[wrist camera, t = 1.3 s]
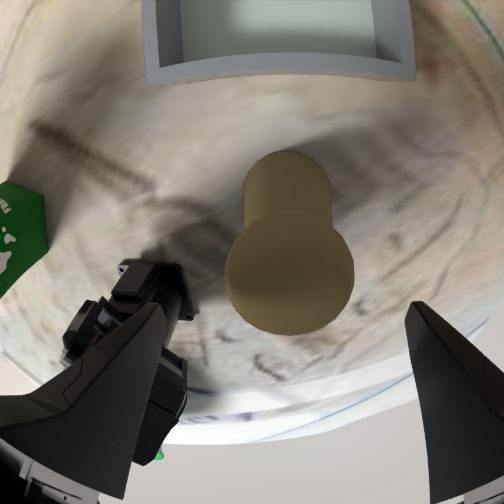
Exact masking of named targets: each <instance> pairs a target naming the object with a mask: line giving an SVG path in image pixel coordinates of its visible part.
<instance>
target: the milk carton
mask: <svg viewBox="0 0 504 504" xmlns="http://www.w3.org/2000/svg"><path fill="white" fill-rule="evenodd" d="M47 253H48V248H47V240H46V231H45V220H44V206H43V195H41V194H38V193H36V192H33V191H31V190H28V189H25V188H23V187H20V186H18V185H15V184H13V183H10V182H8V181H5V182H3V183H1V184H0V299H1V298H2V297H3V295H4V294H5V293H6V292H7V291H8V290H9V289H10V287H11V286H12V285H13V284H14V283H15V282H16V281H17V280H18V279H19V278H20V277H21V276H22V275H23V274H24V273H25V272H26V271H27V270H28V269H29V268H30V267H32V266H33V265H34V264H35V263H36V262H37V261H38V260H40V259H41V258H42V257H43V256H44V255H45V254H47Z"/></svg>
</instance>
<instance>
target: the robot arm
mask: <svg viewBox="0 0 504 504" xmlns="http://www.w3.org/2000/svg"><path fill="white" fill-rule="evenodd" d="M122 268H123V269H122ZM175 269H177V270H178V271H176V270H175ZM117 270H118V272H119V275H120V277H121V278H120V279H119V281H118V282H117V284H116V285H115V287H114V288H113V290H112V291H111V294H112V296H111V298H110V299H109V301H108V300H107V299H105V298H104V297H103V296H102V297H101V298H100V299H99V300H98V301H97V302H96V301H90V300H86V301H85V302H84V304H83V305H82V307H81V308H80V309H79V311H78V312H77V314H76V315H75V317H74V318H73V320H72V321H71V323H70V325H69V326H68V328H67V330H66V331H65V333H64V335H63V337H62V339H63V344H64V348H63V350H62V352H63V354H62V356H61V359H60V363H62V364H63V365H64V366H65V368H64V369H63V371H62V372H61V373H60V374H58V375H57V376H55V377H54V378H52V379H51V380H50V381H48V382H47V383H45V384H44V385H42V386H41V387H39V388H38V389H36V390H35V391H33V392H31V393H29V394H25V395H8V396H6V395H5V396H4V395H3V396H2V395H0V504H100V502H99V501H98V496H99V492H101V493H104V494H106V495H109V496H112V497H115V498H118V499H121V500H123V498H124V493H125V489H126V484H127V479H128V475H129V471H130V466H131V462H134V463H137V464H139V465H141V466H145V465H147V464H148V463H149V462H151V461H152V460H154V459H155V457H156V455H157V453H158V451H159V449H160V447H161V445H162V443H163V441H164V439H165V437H166V436H167V435H168V433H169V432H170V430H171V429H172V428H173V427H174V426H175V425H176V424H177V423H178V421H179V417H180V416H181V414H182V412H183V410H184V408H185V405H186V400H187V361H186V360H184V359H183V358H180V357H178V356H177V355H175V354H174V353H172V352H171V351H170V350H168V349H167V347H168V345H169V342H170V339H171V337H172V334H173V332H174V329H175V326H176V324H177V321H178V320H185V321H192V320H193V319H194V316H195V314H194V311H193V307H192V304H191V300H190V296H189V293H188V289H187V285H186V281H185V278H184V274H183V270H182V267H181V266H180V265H179V264H173V263H120V264H119V265H118V267H117ZM107 301H108V302H107ZM188 315H189V316H188ZM405 328H406V334H407V340H408V347H409V354H410V360H411V365H412V369H413V373H414V378H415V382H416V387H417V392H418V397H419V402H420V407H421V413H422V419H423V425H424V432H425V440H426V448H427V457H428V470H429V485H430V504H436V503H440V502H443V501H446V500H448V499H451V498H454V497H457V496H460V495H462V494H463V495H464V501H462V502H460V503H457V504H504V373H503V372H502V371H501V370H500V369H499V368H498V367H497V366H496V365H495V364H493V363H492V362H491V361H490V360H489V359H488V358H487V357H486V356H484V354H483V353H482V352H481V351H479V350H478V349H477V348H476V347H475V346H474V345H473V344H472V343H471V342H470V341H468V340H467V339H466V338H465V337H464V336H463V335H462V334H461V333H459V332H458V331H457V330H456V329H455V328H454V327H453V326H451V325H450V324H449V323H448V322H447V321H446V320H444V319H443V318H442V317H441V316H440V315H439V314H437V313H436V312H435V311H434V310H433V309H431V308H430V307H429V306H428V305H426V304H425V303H424V302H423V301H413V302H411V304H410V306H409V309H408V312H407V314H406V317H405Z"/></svg>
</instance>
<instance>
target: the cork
mask: <svg viewBox="0 0 504 504" xmlns="http://www.w3.org/2000/svg"><path fill="white" fill-rule="evenodd" d="M225 286H226V291H227V294H228V296H229V299H230V301H231V303H232V305H233V307H234V308H235V310H236V311H237V312H238V313H239V314H240V315H241V316H242V318H243V319H244V320H245V321H246V322H248V323H249V324H251V325H253V326H254V327H256V328H258V329H259V330H262V331H265V332H269V333H272V334H276V335H289V336H292V335H300V334H307V333H310V332H313V331H315V330H318V329H321V328H323V327H324V326H326V325H327V324H329V323H330V322H332V321H333V320H335V319H336V317H337V316H338V315H339V314H340V313H341V311H342V310H343V309H344V308H345V306H346V304H347V303H348V301H349V299H350V296H351V293H352V290H353V287H354V261H353V258H352V255H351V253H350V251H349V249H348V247H347V245H346V242H345V241H344V239H343V237H342V236H341V235H340V234H339V233H338V232H337V231H336V230H335V229H334V228H333V222H332V208H331V195H330V188H329V182H328V178H327V176H326V174H325V173H324V171H323V169H322V167H321V166H320V165H318V164H317V163H316V162H315V161H314V160H313V159H312V158H310V157H308V156H306V155H303V154H301V153H299V152H290V151H281V152H276V153H271V154H269V155H267V156H265V157H264V158H262V159H260V160H258V161H257V162H256V164H255V165H254V166H253V167H252V168H251V169H250V170H249V172H248V175H247V177H246V180H245V182H244V231H243V232H242V233H241V234H240V235H239V236H238V237H237V238H236V239H235V241H234V242H233V245H232V247H231V250H230V252H229V255H228V257H227V260H226V263H225Z"/></svg>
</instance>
